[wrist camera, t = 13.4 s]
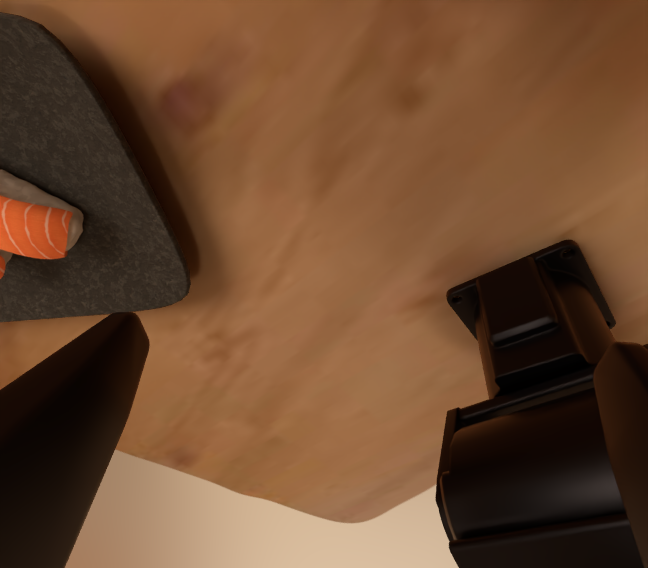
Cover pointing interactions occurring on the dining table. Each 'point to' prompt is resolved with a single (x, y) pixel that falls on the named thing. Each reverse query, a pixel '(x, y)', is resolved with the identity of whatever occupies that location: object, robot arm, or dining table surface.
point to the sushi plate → (73, 194)
